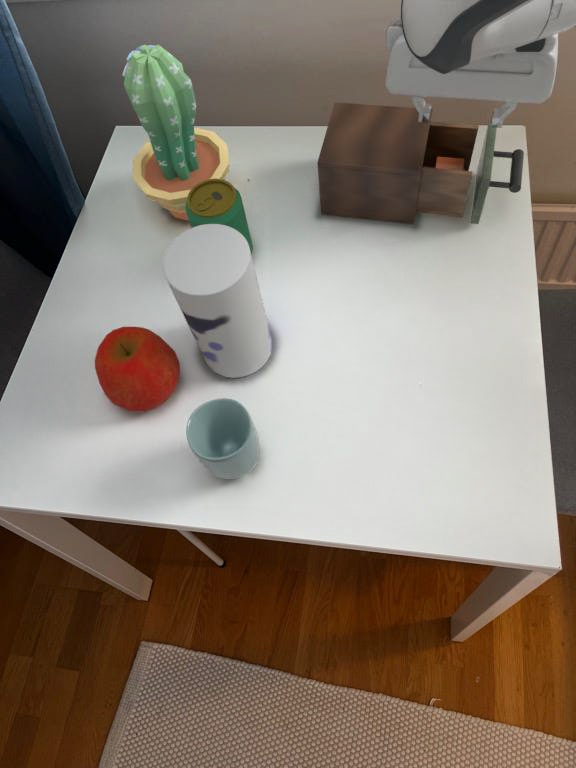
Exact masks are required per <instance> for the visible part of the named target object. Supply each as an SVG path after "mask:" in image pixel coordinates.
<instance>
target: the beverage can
mask: <svg viewBox="0 0 576 768" xmlns="http://www.w3.org/2000/svg"><path fill="white" fill-rule="evenodd" d="M185 209H186V214H187V216H188V219H189V220H188V222H189V224H190V227H191V228H193V227H196V226H199V225H205V224H221V225H225V226H229V227H231V228H233V229H235V230H237V231H238V232H240V233H241V234H242V235H243V236H244V238H245V239H246V240H247V242H248V245H249V248H250V252H251V254H252V253H253V250H254V247H253V246H254V245H253V240H252V235H251V232H250V228H249V223H248V220H247V215H246V214H247V213H246V210H245V206H244V202H243V197H242V195H241V193H240V191H239V189H237V188H236V187H235V186H234V185H233V184H232V183H231V182H229V181H227V180H225V179H224V180H222V179H208V180H205V181H202V182H200V183H198V184H197V185H195V186H194V187H193V188H192V189H191V191H190V192H189V194H188V197H187V202H186V207H185Z"/></svg>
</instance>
